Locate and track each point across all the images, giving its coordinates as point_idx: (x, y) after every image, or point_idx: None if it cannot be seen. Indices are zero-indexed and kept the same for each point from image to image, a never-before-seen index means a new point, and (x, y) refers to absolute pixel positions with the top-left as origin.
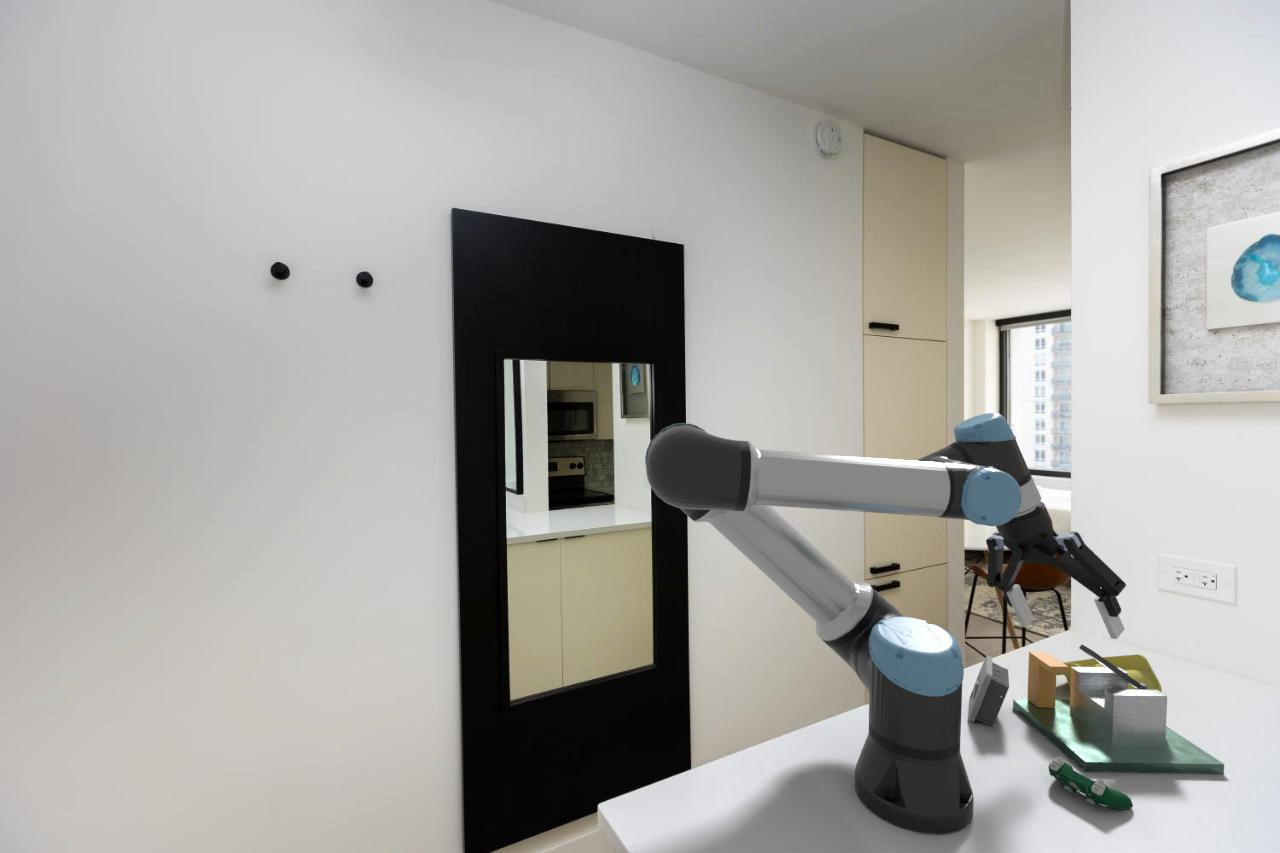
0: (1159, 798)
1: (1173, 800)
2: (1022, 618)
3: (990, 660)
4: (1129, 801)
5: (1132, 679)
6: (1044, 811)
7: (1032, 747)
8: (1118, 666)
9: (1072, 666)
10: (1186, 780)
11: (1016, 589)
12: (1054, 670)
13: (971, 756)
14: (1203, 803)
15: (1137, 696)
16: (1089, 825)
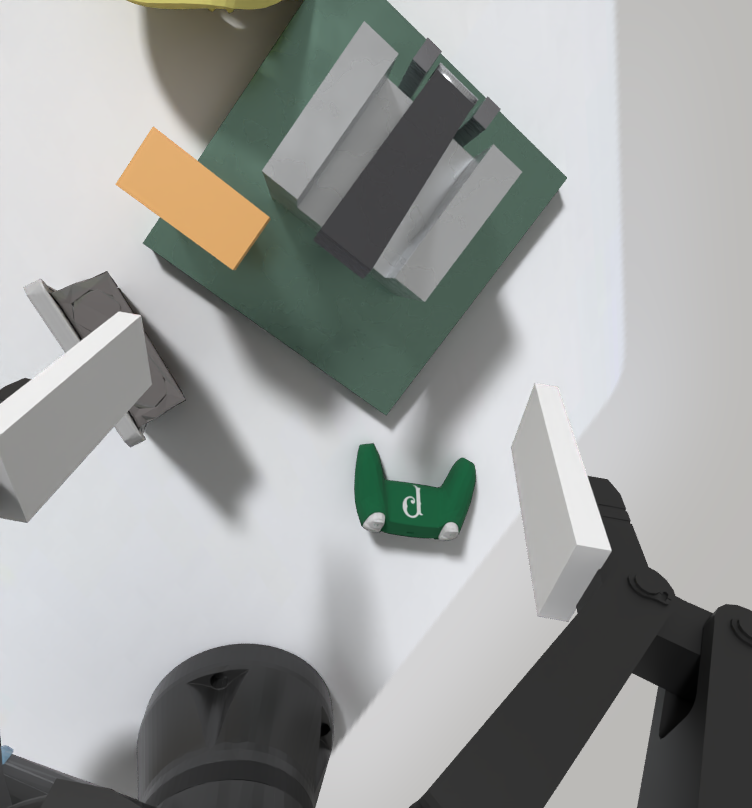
0: (492, 388)
1: (509, 374)
2: (127, 410)
3: (60, 323)
4: (475, 479)
5: (440, 158)
6: (385, 583)
7: (279, 404)
8: None
9: (203, 6)
10: (512, 276)
11: (18, 467)
12: (243, 256)
13: (225, 539)
14: (544, 340)
15: (466, 244)
16: (441, 560)
